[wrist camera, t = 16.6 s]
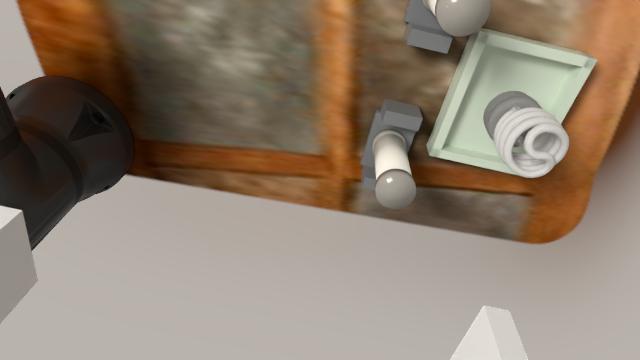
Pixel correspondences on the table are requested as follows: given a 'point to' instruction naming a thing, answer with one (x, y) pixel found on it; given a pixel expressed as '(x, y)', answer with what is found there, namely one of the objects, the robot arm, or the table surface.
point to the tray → (501, 76)
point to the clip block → (399, 114)
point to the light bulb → (525, 134)
